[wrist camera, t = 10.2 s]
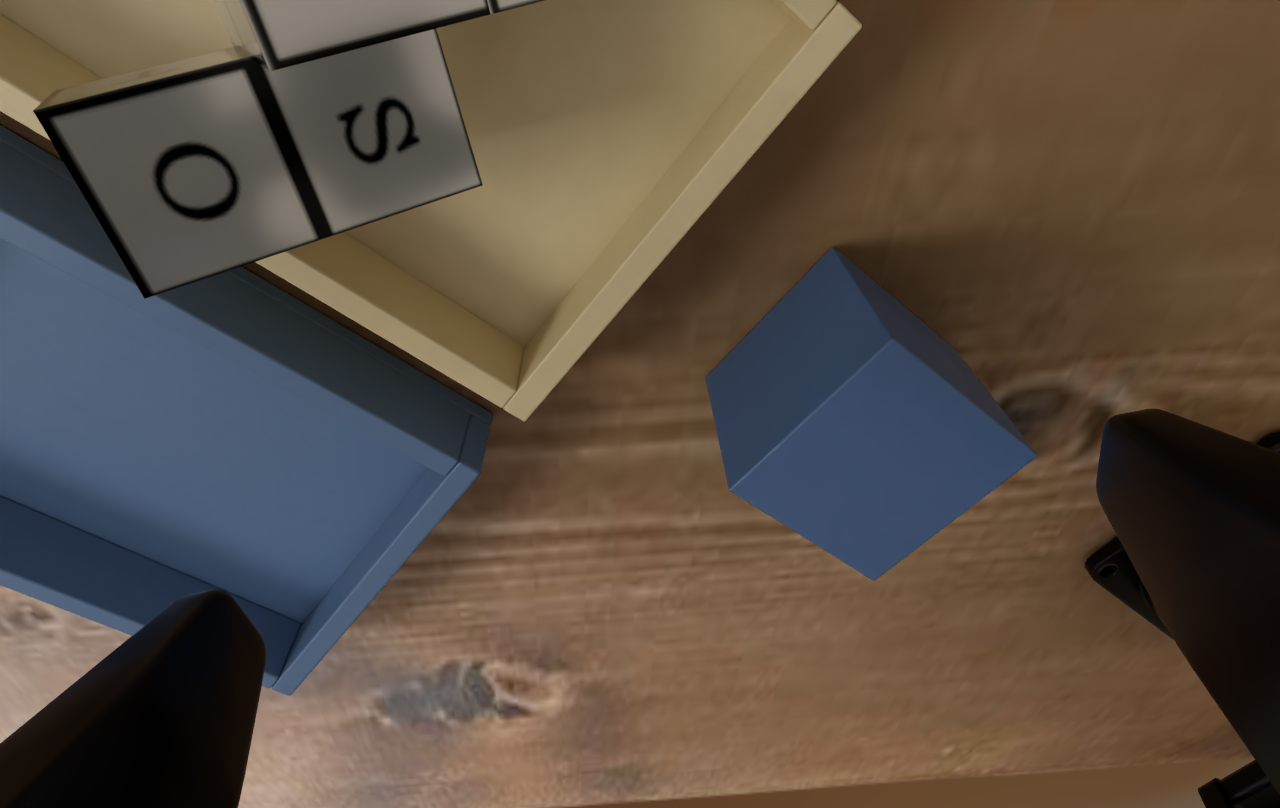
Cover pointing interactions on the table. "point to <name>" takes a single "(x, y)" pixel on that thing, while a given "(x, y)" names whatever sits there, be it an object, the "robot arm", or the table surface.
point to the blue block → (857, 421)
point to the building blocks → (270, 134)
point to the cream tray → (508, 159)
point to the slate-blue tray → (202, 437)
